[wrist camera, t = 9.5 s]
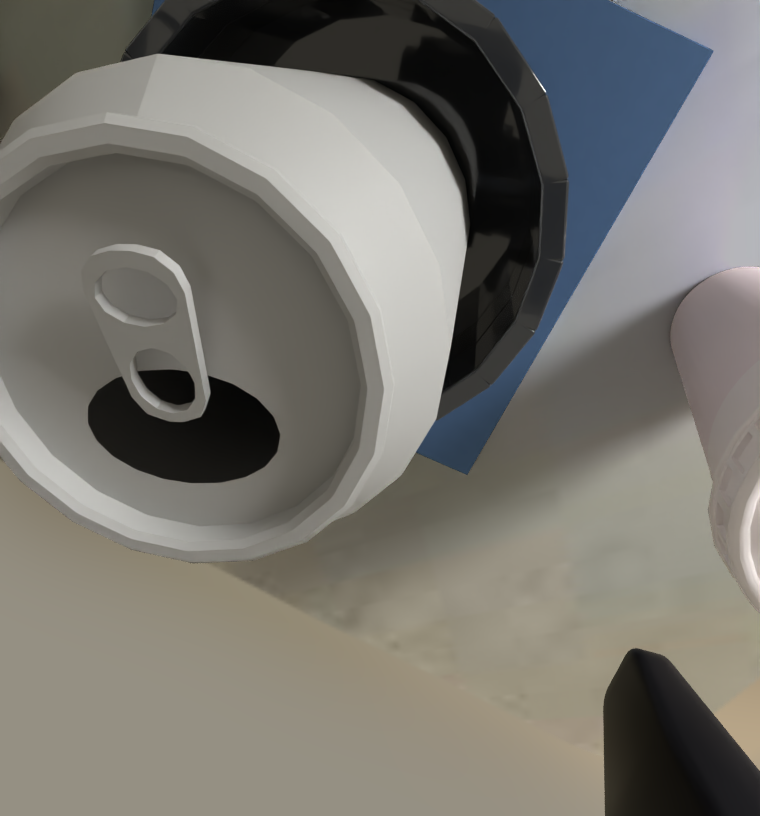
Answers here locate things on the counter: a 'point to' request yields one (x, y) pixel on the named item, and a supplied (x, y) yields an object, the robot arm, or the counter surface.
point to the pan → (450, 112)
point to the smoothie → (727, 409)
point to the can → (222, 300)
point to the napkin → (580, 154)
